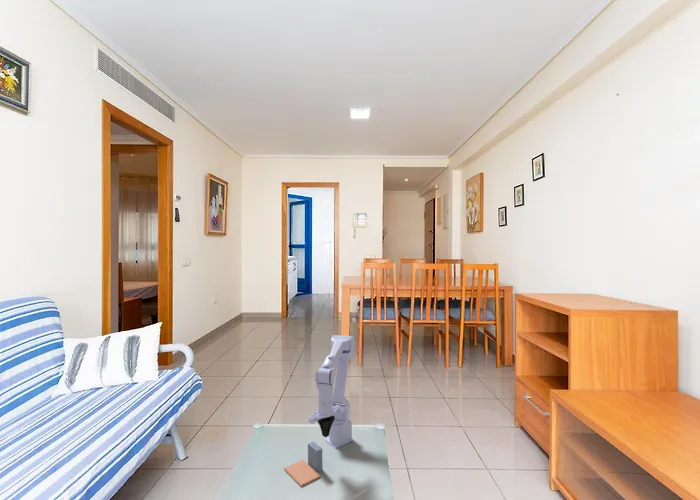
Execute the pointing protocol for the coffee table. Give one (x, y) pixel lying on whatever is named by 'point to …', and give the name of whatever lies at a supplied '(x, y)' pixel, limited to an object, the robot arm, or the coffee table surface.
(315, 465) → the slab
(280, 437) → the coffee table surface
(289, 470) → the mat
